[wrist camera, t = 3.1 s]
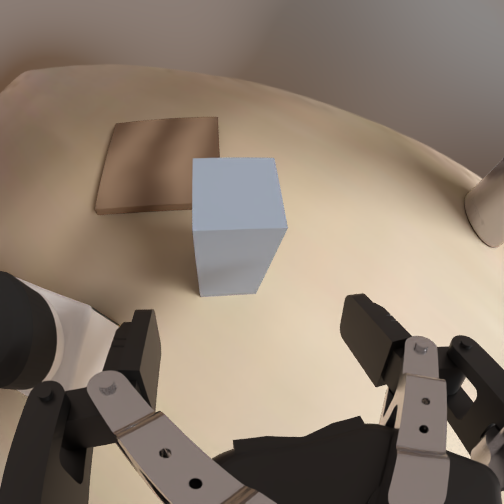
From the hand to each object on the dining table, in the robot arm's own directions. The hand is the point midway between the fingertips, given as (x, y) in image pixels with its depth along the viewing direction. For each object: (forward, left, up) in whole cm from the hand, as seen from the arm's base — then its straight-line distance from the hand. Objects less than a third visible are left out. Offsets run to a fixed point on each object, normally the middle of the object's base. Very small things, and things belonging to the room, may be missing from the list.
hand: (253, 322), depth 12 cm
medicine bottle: (+13, 0, -11) cm, 17 cm away
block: (0, -7, -11) cm, 13 cm away
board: (+6, -19, -11) cm, 23 cm away
